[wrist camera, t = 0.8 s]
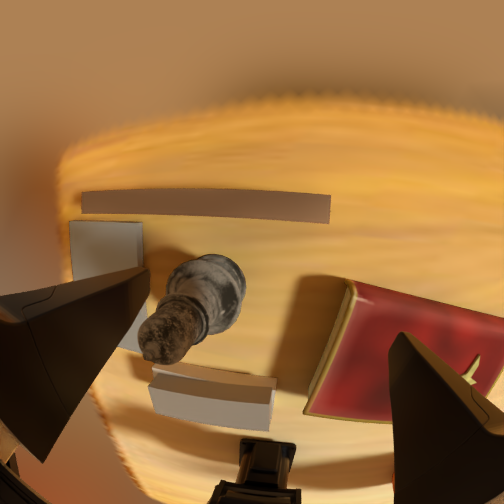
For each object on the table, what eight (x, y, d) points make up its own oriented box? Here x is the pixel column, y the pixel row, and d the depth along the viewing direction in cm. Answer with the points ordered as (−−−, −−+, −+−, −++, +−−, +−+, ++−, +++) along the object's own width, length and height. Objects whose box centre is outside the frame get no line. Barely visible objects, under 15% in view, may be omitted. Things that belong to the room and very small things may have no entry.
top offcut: (271, 414, 23) (268, 431, 20) (165, 399, 24) (155, 413, 22) (272, 387, 22) (269, 404, 20) (158, 372, 24) (147, 386, 21)
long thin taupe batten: (318, 216, 21) (329, 223, 14) (133, 208, 23) (81, 213, 16) (319, 196, 20) (331, 195, 14) (133, 191, 23) (81, 192, 16)
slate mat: (151, 350, 26) (146, 354, 25) (88, 331, 27) (83, 335, 26) (142, 222, 23) (136, 223, 22) (75, 220, 24) (69, 221, 23)
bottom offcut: (273, 404, 25) (271, 419, 23) (165, 384, 27) (156, 396, 24) (277, 375, 24) (275, 390, 22) (161, 355, 26) (151, 367, 24)
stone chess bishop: (171, 280, 24) (82, 340, 12) (215, 235, 22) (133, 273, 11) (216, 328, 24) (158, 418, 12) (264, 288, 22) (230, 375, 11)
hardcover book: (344, 274, 22) (355, 291, 17) (503, 315, 19) (524, 330, 15) (303, 387, 24) (302, 416, 20) (457, 402, 22) (470, 423, 18)
